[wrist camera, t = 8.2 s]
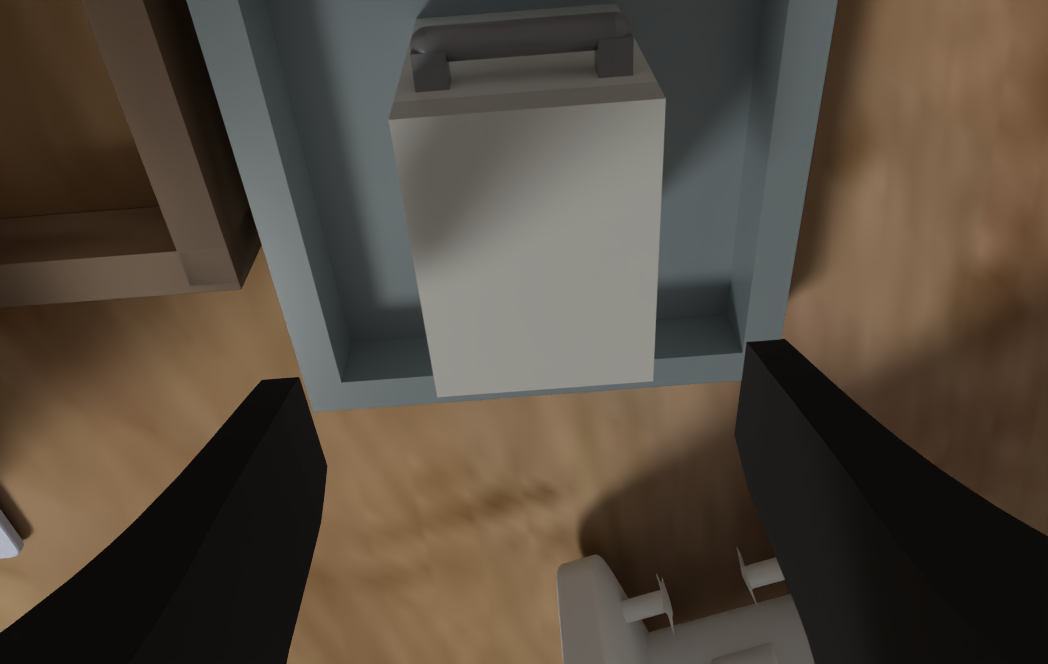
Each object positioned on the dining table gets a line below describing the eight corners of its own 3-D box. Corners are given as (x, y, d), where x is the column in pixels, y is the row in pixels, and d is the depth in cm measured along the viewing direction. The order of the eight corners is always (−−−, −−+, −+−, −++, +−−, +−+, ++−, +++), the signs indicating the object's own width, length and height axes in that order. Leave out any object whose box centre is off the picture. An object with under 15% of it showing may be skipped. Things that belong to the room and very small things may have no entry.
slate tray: (327, 359, 24) (313, 412, 22) (190, -132, 16) (150, -116, 14) (751, 327, 24) (774, 378, 22) (820, -182, 16) (867, -173, 14)
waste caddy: (448, 249, 21) (437, 397, 16) (408, -30, 17) (377, 57, 12) (615, 237, 21) (652, 381, 16) (616, -46, 17) (669, 34, 12)
